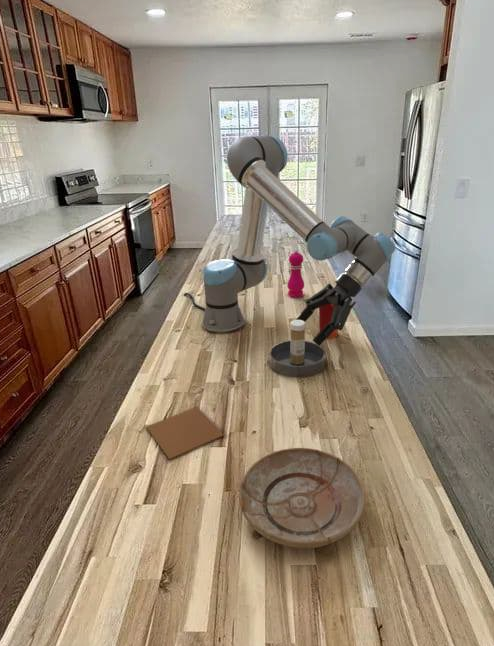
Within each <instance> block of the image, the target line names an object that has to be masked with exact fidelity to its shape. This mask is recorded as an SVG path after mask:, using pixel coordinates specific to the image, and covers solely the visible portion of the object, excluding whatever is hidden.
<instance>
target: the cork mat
mask: <svg viewBox="0 0 494 646" xmlns="http://www.w3.org/2000/svg"><path fill="white" fill-rule="evenodd" d="M146 429H147V431H148V432H149V434H150V435H151V437H152V438H153V439H154V441H155V442H156V444H157V445H158V447H160V449H161V451H162V452H163V453H164V454H165V456H166V457H167V459H168V460H169V461H171V460H173V459H175V458H178V457H179V456H182V455H185V454H187V453H189V452H191V451H194V450H196V449H198V448H200V447H202V446H205V445H207V444H209V443H212V442H214V441H216V440H218V439H221V438H223V437H225V434H224V433H223V432H222V431H221V430H220V429H219V428H218V427H217V426H216V425H215V424H214V423H213V422H212V421H211V420H210V419H209V418H208V417H207V416H206V414H205V413H204V412H203V411H201V409H200V408H199V407H198V406H196V407H194V408H191V409H189V410H186V411H184V412H181V413H178V414H176V415H173V416H170V417H168V418H165V419H162V420H160V421H158V422H155V423H152V424H150V425H147V426H146Z"/></svg>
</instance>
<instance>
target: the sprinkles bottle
mask: <svg viewBox="0 0 494 646" xmlns="http://www.w3.org/2000/svg"><path fill="white" fill-rule="evenodd" d="M289 329H290V337H289V338H290V340H289V341H290V353H291V359H290V362H291V363H292V364H296V365H300V364H303V363H304V362H305V360H304V351H305V341H306V339H305V338H306V337H305V336H306V335H305V333H306V322H304V321H302V320H296V319H292V320H291V321H290V323H289Z"/></svg>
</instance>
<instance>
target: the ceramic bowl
mask: <svg viewBox="0 0 494 646" xmlns="http://www.w3.org/2000/svg"><path fill="white" fill-rule="evenodd" d="M238 499H239V505H240V509H241V512H242V515H243V516H244V518H245V520H246V521H247V523H248V524H249V525H250V526H251V527H252V528H253V530H254V531H256V533H258V534H260V535H261V536H262V537H264V538H266V539H267V540H269V541H271V542H273V543H275V544H279V545H281V546H284V547H289V548H294V549H315V548H322V547H325V546H329V545H330V544H333V543H335V542H337V541H339V540H341V539H343V538H345V537H346V536H348V535H349V534H350V533H351V532H352V531H353V530H354V529H355V528H356V527H357V525H358V524H359V522H360V520H361V518H362V516H363V514H364V511H365V506H366V492H365V488H364V484H363V483H362V479H361V478H360V476H359V475H358V473H357V472H356V470H354V469H353V467H352V466H351V465H349V464H348V463H347V462H346V461H344V460H343V459H342V458H340V457H338V456H336V455H334V454H331V453H329V452H327V451H324V450H320V449H315V448H310V447H309V448H308V447H291V448H285V449H280V450H276V451H273V452H270V453H268V454H267V455H265V456H262V457H260V458H259V459H257V461H255V462H254V463H253V464H252V465H251V466H250V467H249V468H248V470H247V471H246V472H245V474H244V476H243V478H242V480H241V482H240V487H239V491H238Z"/></svg>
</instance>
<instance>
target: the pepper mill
mask: <svg viewBox="0 0 494 646" xmlns="http://www.w3.org/2000/svg"><path fill="white" fill-rule="evenodd" d="M288 262H289V268H290V276H289V279H288V281H287V284H286V287H287V289H288V292H287V293H288V296H289V297H290V298H301V297H303V296H304V290H303V289H304V288H305V282H304V281H305V280H304V278H303V277H302V269H303V262H304V256H303V255H302V253H299V250H298V249H294V250H293V252H292V253H291V254H290V255H289V257H288Z"/></svg>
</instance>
